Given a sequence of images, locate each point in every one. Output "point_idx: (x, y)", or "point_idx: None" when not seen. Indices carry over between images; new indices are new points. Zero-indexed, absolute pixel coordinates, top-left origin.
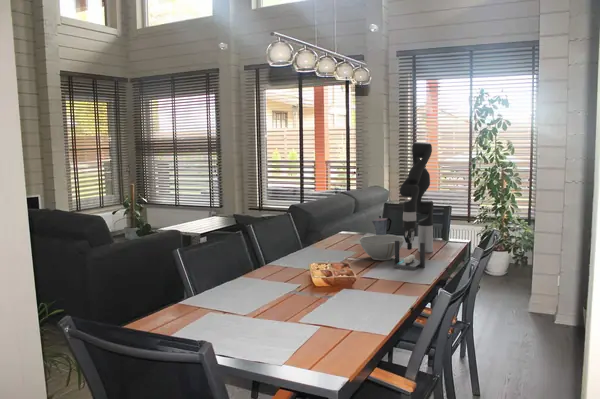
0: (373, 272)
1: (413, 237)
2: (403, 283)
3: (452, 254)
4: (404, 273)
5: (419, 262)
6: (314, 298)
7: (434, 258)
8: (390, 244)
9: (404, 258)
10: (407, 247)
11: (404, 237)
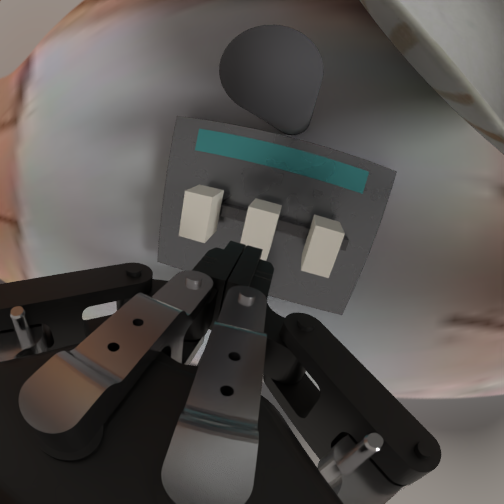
0: (81, 51)
1: (292, 418)
2: (9, 221)
3: (498, 385)
4: (93, 202)
5: (282, 287)
6: None
7: (464, 340)
8: (375, 1)
9: (186, 193)
10: (226, 249)
11: (10, 287)
